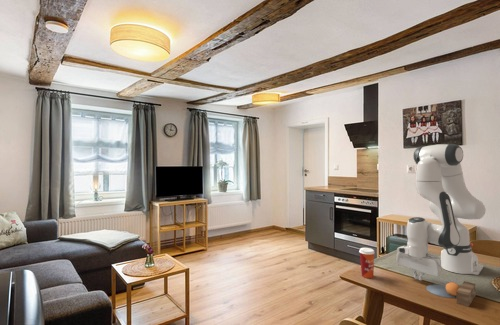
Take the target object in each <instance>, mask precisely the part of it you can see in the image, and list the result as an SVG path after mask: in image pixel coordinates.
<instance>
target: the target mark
mask: <svg viewBox="0 0 500 325" xmlns="http://www.w3.org/2000/svg"><path fill="white" fill-rule="evenodd" d="M425 288H426V291H428V292H429V293H430V294H432V295H435V296H438V297H442V298H448V299H457V296H452V295H450V294H449V293H448V292H447V291H446V284H445V285H444V284H434V283H433V284H428V285H427V286H426V287H425Z"/></svg>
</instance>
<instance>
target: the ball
mask: <svg viewBox="0 0 500 325" xmlns="http://www.w3.org/2000/svg"><path fill="white" fill-rule="evenodd" d="M445 286H446V291H447V292H448V293H449V294H450V295H452V296H457V295H456V292H457V290H458V289H459V288H460V285H459V284H458V283H455V282H453V281H451V282H448V283H446V284H445Z"/></svg>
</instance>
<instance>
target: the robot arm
mask: <svg viewBox="0 0 500 325" xmlns="http://www.w3.org/2000/svg"><path fill="white" fill-rule="evenodd" d="M463 159H464V151H463V149H462V147H461V146H460V145H458V144H456V143H449V144H446V143H445V144H442V143H441V144H433V145H432V144H431V145H427V146H426V145H422V146H418V147H416V149H415V150H414V151H413V160H414V162H415V164H416V171H415V189H416V191H417V193H418V194H419V195H420V197H422V198H424V199H425V200H428V201H429V209H430V211H431V212H432V213H433V215H435V216H436V217H437V218H438V219H439V221H440V223H441V225H440V224H437V223H433V222H429V221H427V220H426V219H425V218H423V217H420V216H418V217H417V216H414V217H411V218H408V220H407V224H406V237H407V242H406V245H401V246H399V247H397V248H396V251H397V252H396V259H395V261H396V262H395V263H396V264H397V265H398V266H401V267H403V268H408V269H410V270H411V272H412V275H413V278H414V279H415V280H418V281H422V280H423V276H424V275H425V274H427V275H430V276H433V277H437V278H438V277H440V276H442V275H443V271H442V269H444V270H445V271H448V272H452V273H456V274H460V275H461V274H462V275H476V276H478V275H480V273H481V272H482V270H483V268H484V265H483V264H481V263H479V258H478V256H477V255H476V254H475V253H474V251H473V250H472V248H473V247H474V244H473V242H470V230H469V229H468V227H467V226H465V225H464V224H462V223H461V221H459V219H463V220H480V219H482V218H484V216H485V214H486V211H487V210H486V205H485V204H484V203H483V202H482V201H481V200H479V199H477V198H476V197H475V196H474V195H473V194H472V193H471V192H470V191H469V189H468V187H467V186H466V183H465V182H466V181H465V178H464V174H463V168H462V164H461V162H462V161H463ZM428 243H430V244H432V245H437V246H440V247H443V249H442V250H440V251H441V253H440V257H438V255H434V254H430V253H429V244H428ZM418 272H419V274H418Z"/></svg>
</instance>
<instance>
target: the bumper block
mask: <svg viewBox="0 0 500 325" xmlns="http://www.w3.org/2000/svg"><path fill="white" fill-rule="evenodd" d="M459 287H460V288H459V289H458V290H457V292H456V295H457V298H456V304H458V305H461V306H465V307H467V308H468V307H470V305H471V303H472V302H473V301H474V298H476V295H477V292H476V290H477V289H476V283H473V282H470V281H469V282H468V281H463V282H462V284H461V285H459Z"/></svg>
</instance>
